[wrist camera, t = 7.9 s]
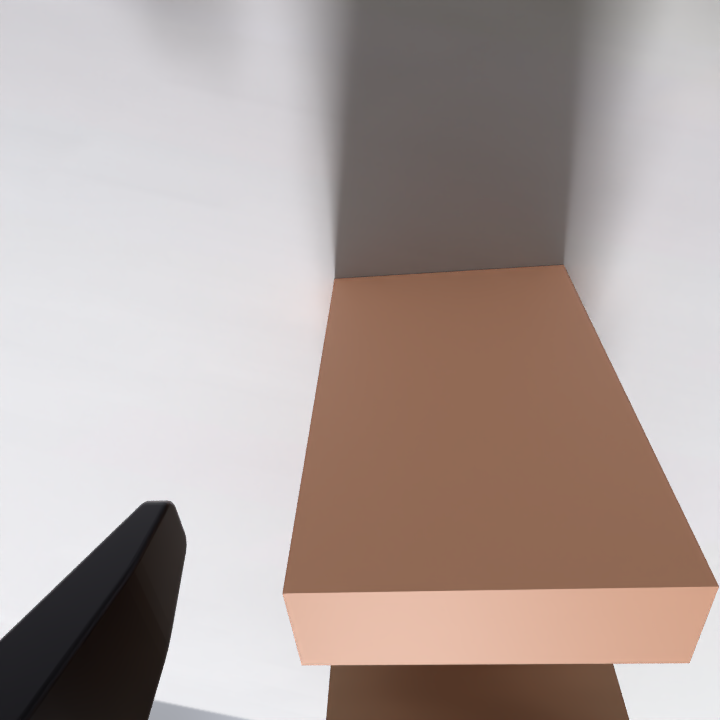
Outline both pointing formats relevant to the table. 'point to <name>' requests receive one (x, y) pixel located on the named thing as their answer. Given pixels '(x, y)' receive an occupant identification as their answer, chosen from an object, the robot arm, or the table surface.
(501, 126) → the table surface
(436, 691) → the domino
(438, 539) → the domino
